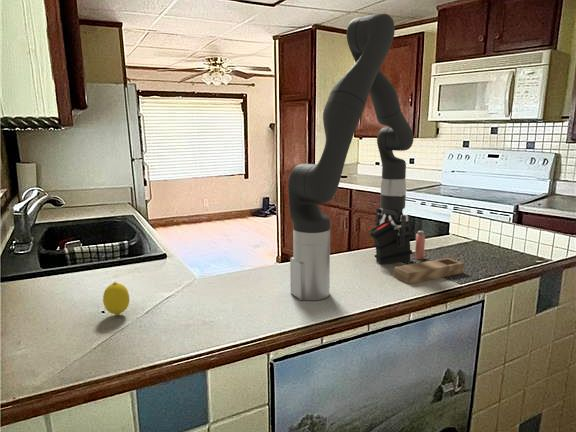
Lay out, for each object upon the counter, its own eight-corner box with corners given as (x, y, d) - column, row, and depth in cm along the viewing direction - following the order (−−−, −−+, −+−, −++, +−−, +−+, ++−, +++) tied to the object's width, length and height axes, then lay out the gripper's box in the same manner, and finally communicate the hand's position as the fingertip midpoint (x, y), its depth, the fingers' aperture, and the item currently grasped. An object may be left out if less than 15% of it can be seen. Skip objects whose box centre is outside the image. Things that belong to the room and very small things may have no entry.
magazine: (420, 255, 135) (404, 215, 131) (386, 276, 133) (369, 236, 128) (413, 252, 139) (398, 213, 134) (380, 272, 137) (363, 233, 132)
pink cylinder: (418, 259, 136) (420, 232, 134) (413, 257, 139) (414, 230, 137) (425, 258, 137) (427, 231, 136) (419, 256, 140) (421, 230, 138)
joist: (407, 283, 115) (408, 273, 115) (393, 277, 121) (394, 267, 120) (463, 272, 124) (464, 263, 123) (448, 267, 129) (448, 257, 128)
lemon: (103, 322, 94) (99, 288, 92) (106, 312, 99) (103, 279, 98) (129, 318, 95) (126, 285, 94) (131, 309, 101) (128, 277, 99)
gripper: (369, 190, 135) (368, 240, 138) (398, 197, 122) (396, 251, 126) (388, 189, 138) (386, 237, 141) (418, 195, 125) (416, 247, 129)
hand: (391, 243), depth 133 cm, fingers open, 8 cm apart
